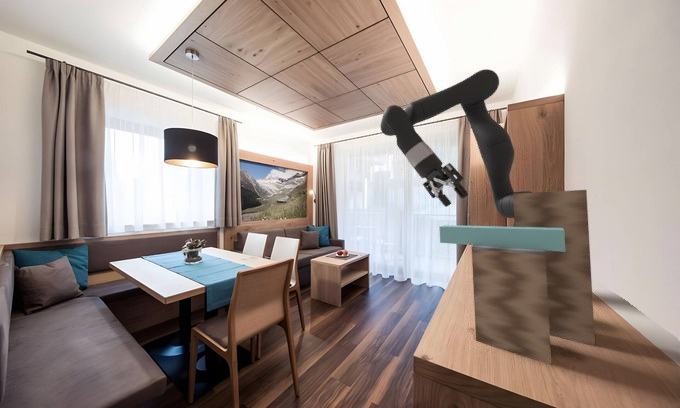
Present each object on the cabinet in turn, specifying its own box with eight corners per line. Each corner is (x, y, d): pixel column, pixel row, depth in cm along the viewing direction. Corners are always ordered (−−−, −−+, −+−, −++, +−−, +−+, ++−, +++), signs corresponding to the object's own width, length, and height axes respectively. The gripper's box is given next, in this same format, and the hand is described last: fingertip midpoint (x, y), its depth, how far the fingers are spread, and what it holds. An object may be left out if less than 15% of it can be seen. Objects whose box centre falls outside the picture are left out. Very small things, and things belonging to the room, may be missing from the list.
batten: (440, 242, 56) (439, 226, 56) (445, 240, 58) (444, 225, 59) (565, 251, 41) (564, 230, 41) (563, 248, 44) (562, 227, 44)
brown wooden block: (476, 340, 49) (471, 246, 49) (482, 325, 55) (478, 241, 55) (551, 364, 41) (545, 252, 41) (549, 343, 47) (544, 245, 47)
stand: (519, 326, 54) (513, 193, 54) (521, 315, 59) (515, 194, 59) (595, 345, 46) (586, 189, 46) (589, 330, 51) (581, 190, 51)
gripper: (443, 142, 65) (481, 187, 62) (422, 164, 78) (452, 201, 75) (424, 154, 63) (462, 200, 60) (405, 174, 77) (435, 213, 74)
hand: (456, 201), depth 68 cm, fingers open, 8 cm apart
